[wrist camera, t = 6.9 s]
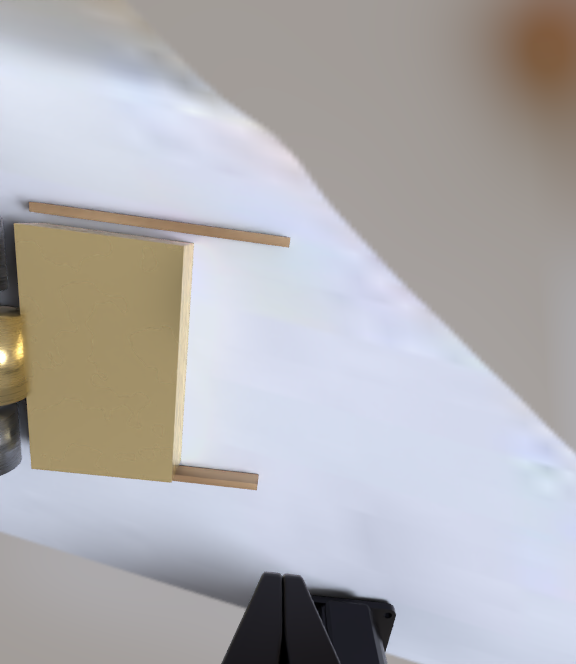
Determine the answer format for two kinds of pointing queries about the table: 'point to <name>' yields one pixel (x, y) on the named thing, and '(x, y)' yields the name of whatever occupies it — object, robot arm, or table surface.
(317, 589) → the table surface
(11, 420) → the fixed leaf
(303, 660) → the robot arm
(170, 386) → the brass hinge plate
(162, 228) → the guide rails
